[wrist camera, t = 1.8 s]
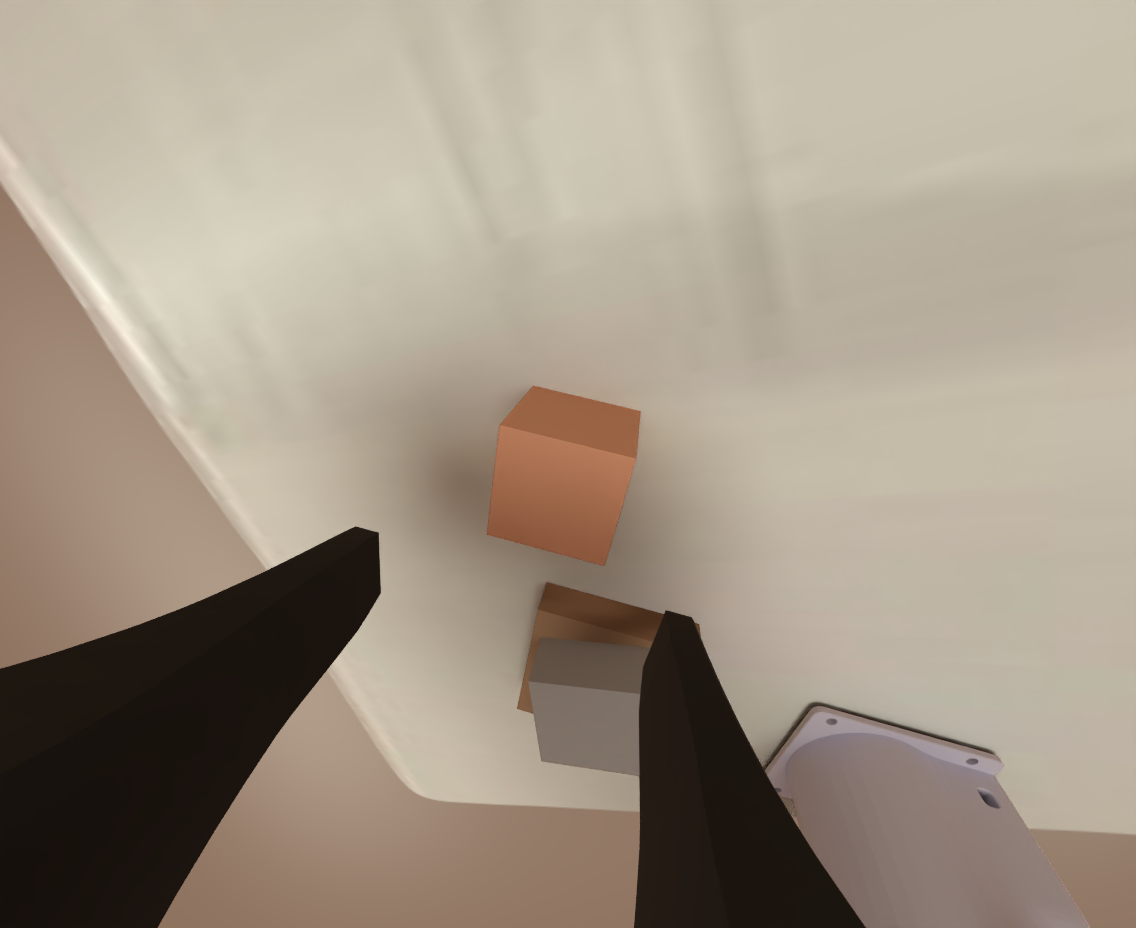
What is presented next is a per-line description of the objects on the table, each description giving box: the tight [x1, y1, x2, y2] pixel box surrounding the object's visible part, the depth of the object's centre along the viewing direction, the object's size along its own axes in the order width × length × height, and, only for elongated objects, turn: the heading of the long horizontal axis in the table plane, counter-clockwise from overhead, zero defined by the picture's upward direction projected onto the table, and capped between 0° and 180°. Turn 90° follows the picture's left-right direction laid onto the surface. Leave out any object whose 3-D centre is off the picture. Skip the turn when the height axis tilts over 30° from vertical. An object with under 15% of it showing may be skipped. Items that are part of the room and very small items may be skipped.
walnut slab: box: [517, 582, 701, 714], centre depth 24 cm, size 8×8×2 cm
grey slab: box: [528, 637, 650, 776], centre depth 21 cm, size 6×6×2 cm
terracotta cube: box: [487, 386, 641, 566], centre depth 17 cm, size 4×4×4 cm
